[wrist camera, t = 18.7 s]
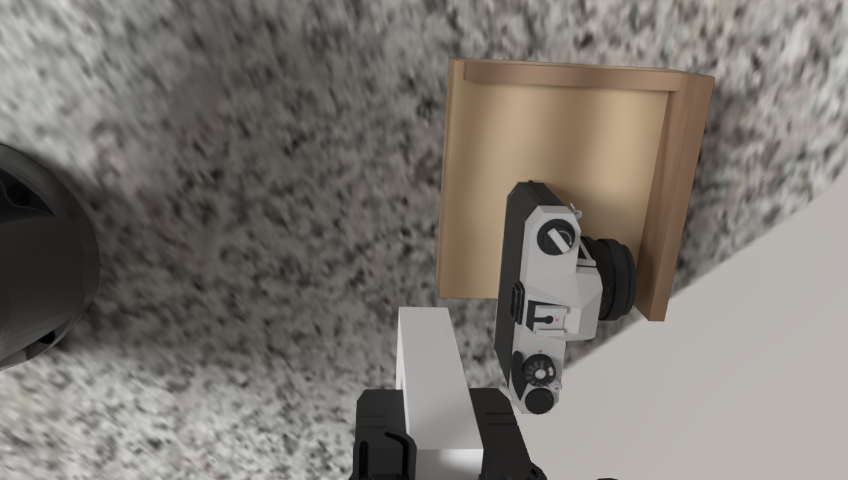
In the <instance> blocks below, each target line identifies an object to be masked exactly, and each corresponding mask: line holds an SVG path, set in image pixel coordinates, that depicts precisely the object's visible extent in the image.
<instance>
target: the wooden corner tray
mask: <svg viewBox="0 0 848 480" xmlns="http://www.w3.org/2000/svg"><path fill="white" fill-rule="evenodd" d="M714 80H715V77H712V76H707V75H701V74H695V73H689V72H683V71H677V70H672V69H665V68H646V67H626V66H606V65H587V64H567V63H547V62H528V61H508V60H488V59H469V58H449V71H448V87H447V102H446V118H445V134H444V149H443V165H442V180H441V196H440V211H439V227H438V243H437V258H436V274H435V281H436V285H437V289H438V294H439V298H497V295H498V284H499V272H500V261H501V250H502V238H503V227H504V215H505V204H506V195H507V193H508V192H509V191H510V190H511V188H512V187H513V186H514V184H515V183H516V182H517V181H529V180H532V181H539V182H543V183H545V185H546V186H547V187H548V188H549V189H550V190H551V191H552V192H553V193H554V194H555V195H556V196H557V198H558V199H559V200H560V201H561V202H562V203H563V204H566V205H567V207H568V209H569V210H570V211H571V212H573V210H572V208H571V205H570V203H572V204H573V206H574V208H575V210H576V211H577V210H580V211H581V212H582V217H581V218H579V219H577V222H578V225H579V227H580V229H581V235H580V236H588V237H591V238H592V239H593V240H595V241H596V240H598V239H615V240H617V241H618V242H619V243H620V244H624V245H626V246H627V247H628V248H629V250H630V251H631V253H632V256H633V258H634V262H635V267H636V276H637V286H636V295H635V299H634V303H633V304H634V305H635V306H636V308H637V309H638V310H639V311H640V312H641V313H642V314H643V315H644V316H645V317H646V319H648V321H664V319H665V314H666V310H667V305H668V300H669V295H670V291H671V286H672V281H673V276H674V271H675V267H676V262H677V257H678V252H679V248H680V243H681V238H682V233H683V228H684V224H685V219H686V214H687V209H688V205H689V200H690V195H691V190H692V185H693V181H694V176H695V171H696V166H697V162H698V157H699V152H700V147H701V142H702V138H703V133H704V128H705V123H706V119H707V114H708V109H709V104H710V99H711V95H712V90H713V85H714Z"/></svg>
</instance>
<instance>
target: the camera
mask: <svg viewBox="0 0 848 480" xmlns="http://www.w3.org/2000/svg"><path fill="white" fill-rule="evenodd" d="M570 205H571V208H572V210H573V212H571V211H570V210H569V209H568V207H567V205H566V204H563V203H562V202H561V201H560V200H559V199H558V198H557V196H556V195H555V194H554V193H553V192H552V191H551V190H550V189H549V188H548V187H547V186H546V185H545V183H543V182H539V181H532V180H529V181H517V182H516V183H515V184H514V186H513V187H512V188H511V190H510V191H509V192H508V193H507V195H506V204H505V215H504V227H503V238H502V250H501V261H500V272H499V284H498V295H497V306H496V318H495V329H494V341H493V345H494V350H495V351H496V354H497V356H498V359H499V362H500V365H501V368H502V371H503V374H504V376H505V379H506V382H507V387H508V389H509V391H510V394H511V396H512V399H513V402H514V403H515V405H516V406H517V407H518V409H519V410H520V411H521V413H523V414H526V413H527V414H528V413H533V414H544V413H549V411H550V410H551V409H552V408H553V407H554V406H555V404H556V403H557V402H558V398H559V391H560V390H561V388H562V385H561V376H562V369H563V361H564V354H565V346H566V341H577V340H588V339H592V338H595V336H596V329H597V323H598V320H601V321H614V320H617V319H618V318H619V317H620V316H621V315H626V314H627V313H628V312H629V311H630V310H631V308H632V305H633V303H634V299H635V295H636V286H637V276H636V267H635V262H634V258H633V256H632V253H631V251H630V250H629V248H628V247H627V246H626V245H624V244H620V243H619V242H618V241H617V240H615V239H598V240H596V241H595V240H593V239H592V238H591V237H588V236H580V235H581V229H580V227H579V225H578V222H577V219H579V218H581V217H582V212H581V211H580V210H577V211H576V210H575V208H574V206H573V204H572V203H570Z"/></svg>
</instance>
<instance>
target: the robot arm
mask: <svg viewBox="0 0 848 480" xmlns="http://www.w3.org/2000/svg"><path fill="white" fill-rule="evenodd" d="M98 279H99V254H98V248H97V244H96V240H95V237H94V234H93V231H92V228H91V226H90V224H89V221H88V219H87V218H86V216H85V214H84V212H83V210H82V209H81V207H80V206H79V204H78V203H77V201H76V200H75V199H74V197H73V196H72V195H71V194H70V192H69V191H68V190H67V189H66V188H65V187H64V186H63V185H62V184H61V183H60V182H59V181H58V180H57V179H56V178H55V177H54V176H53V175H52V174H50V173H49V172H48V171H47V170H45V169H44V168H43V167H41V166H40V165H39V164H37V163H36V162H34V161H33V160H31V159H29V158H28V157H26V156H24V155H22V154H20V153H18V152H16V151H14V150H12V149H10V148H8V147H5V146H3V145H0V371H2V370H4V369H7V368H10V367H12V366H15V365H18V364H20V363H23V362H25V361H28V360H30V359H32V358H34V357H36V356H38V355H40V354H42V353H44V352H45V351H47V350H48V349H50V348H51V347H52V346H54V345H55V344H56V343H57V342H59V341H60V340H61V339H62V338H63V337H64V336H65V335H66V334H67V333H68V332H69V331H70V330H71V329H72V328H73V327H74V326H75V325H76V324H77V323H78V322H79V320H80V319H81V318H82V317H83V316H84V314H85V313H86V311H87V310H88V308H89V306H90V304H91V302H92V300H93V298H94V295H95V292H96V288H97V285H98ZM349 480H547V477H546V476H545V474H544V473H543V471H542V470H541V469H540V468H539V467H537V466H536V465H535V464H534V463H532V462H531V460H530V457H529V454H528V452H527V449H526V446H525V443H524V440H523V438H522V435H521V432H520V429H519V426H517V421H516V418H515V415H514V412H513V409H512V406H511V404H510V401H509V399H508V398H507V397H506V396H505V395H504V394H503V393H502V392H501V391H500V390H499V389H498V388H468V386H467V382H466V378H465V374H464V370H463V366H462V363H461V359H460V355H459V351H458V347H457V343H456V339H455V335H454V331H453V327H452V323H451V319H450V315H449V311H448V307H399V320H398V343H397V366H396V390H389V389H365V391H364V392H363V393H362V395H361V396H360V398H359V399H358V400H357V410H356V432H355V444H354V447H353V473H352V475H351V476H350V478H349ZM598 480H617V479H612V478H603V479H598Z"/></svg>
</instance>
